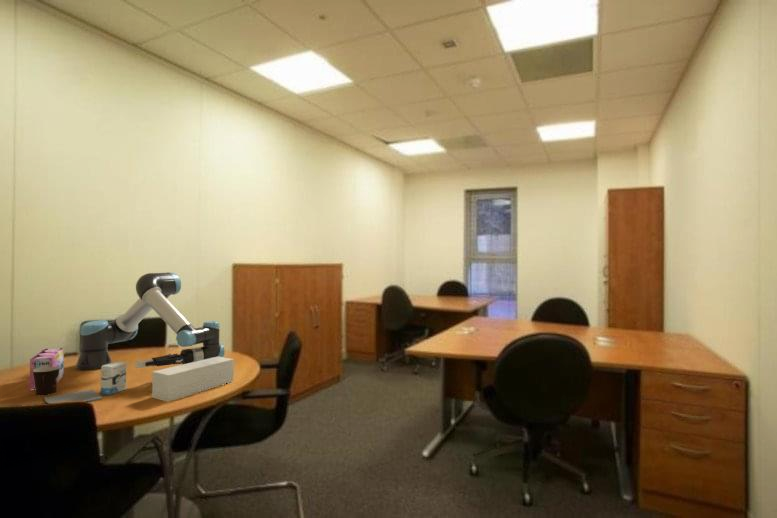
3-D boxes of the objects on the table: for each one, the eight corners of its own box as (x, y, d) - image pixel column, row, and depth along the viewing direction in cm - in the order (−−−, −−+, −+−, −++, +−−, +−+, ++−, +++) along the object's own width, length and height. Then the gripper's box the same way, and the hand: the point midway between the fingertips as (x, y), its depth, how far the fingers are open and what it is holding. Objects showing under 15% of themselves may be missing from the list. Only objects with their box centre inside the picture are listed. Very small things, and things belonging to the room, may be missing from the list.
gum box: (44, 376, 200) (44, 348, 200) (64, 374, 203) (65, 346, 203) (28, 391, 178) (29, 358, 178) (52, 388, 182) (52, 357, 182)
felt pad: (44, 399, 168) (44, 397, 168) (92, 390, 179) (92, 389, 179) (52, 409, 157) (52, 407, 157) (102, 399, 169) (102, 397, 169)
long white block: (168, 402, 166) (168, 375, 167) (151, 397, 172) (152, 371, 172) (233, 382, 194) (233, 359, 195) (217, 379, 200) (218, 356, 200)
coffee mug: (42, 390, 179) (43, 366, 179) (64, 389, 180) (64, 366, 180) (21, 399, 168) (21, 374, 168) (44, 398, 168) (44, 373, 168)
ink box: (110, 395, 174) (110, 366, 174) (100, 394, 175) (100, 365, 175) (126, 389, 182) (127, 361, 182) (117, 388, 183) (117, 361, 183)
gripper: (197, 366, 197) (141, 376, 180) (185, 361, 206) (131, 370, 189) (197, 350, 197) (141, 358, 180) (185, 346, 206) (131, 354, 189)
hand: (136, 365), depth 184 cm, fingers closed
